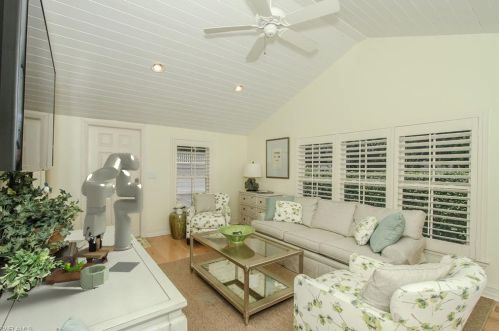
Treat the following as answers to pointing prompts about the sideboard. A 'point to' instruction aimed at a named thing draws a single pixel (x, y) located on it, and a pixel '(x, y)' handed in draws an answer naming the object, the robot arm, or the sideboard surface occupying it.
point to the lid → (97, 254)
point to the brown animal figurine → (97, 258)
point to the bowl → (94, 276)
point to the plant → (68, 271)
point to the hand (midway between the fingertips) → (95, 249)
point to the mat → (123, 266)
